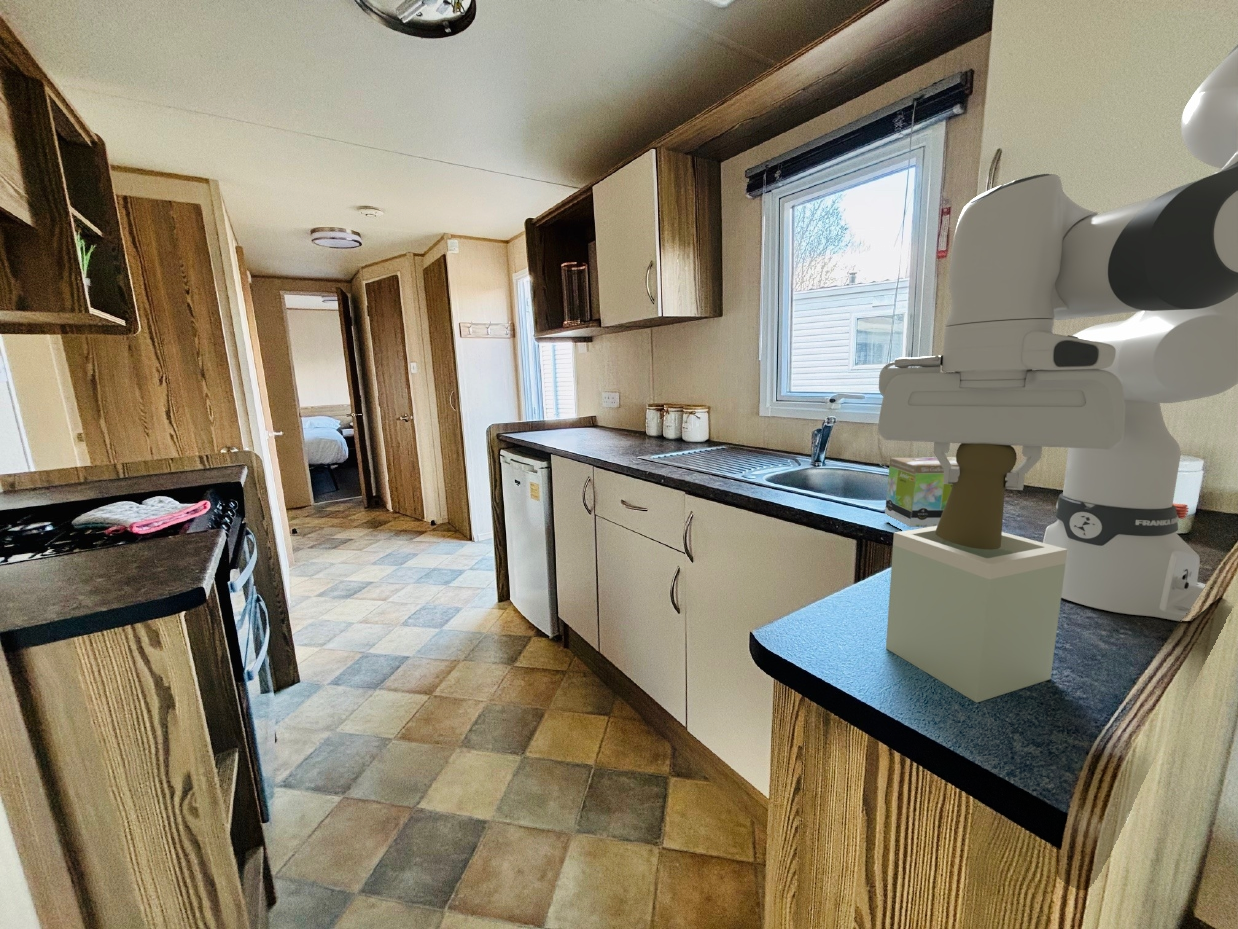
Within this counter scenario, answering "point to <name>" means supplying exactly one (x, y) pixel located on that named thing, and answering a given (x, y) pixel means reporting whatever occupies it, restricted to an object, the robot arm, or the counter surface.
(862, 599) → the counter surface
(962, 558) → the open top box
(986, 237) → the robot arm
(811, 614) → the counter surface
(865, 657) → the counter surface
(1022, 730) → the counter surface
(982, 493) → the cork
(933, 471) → the tea box
